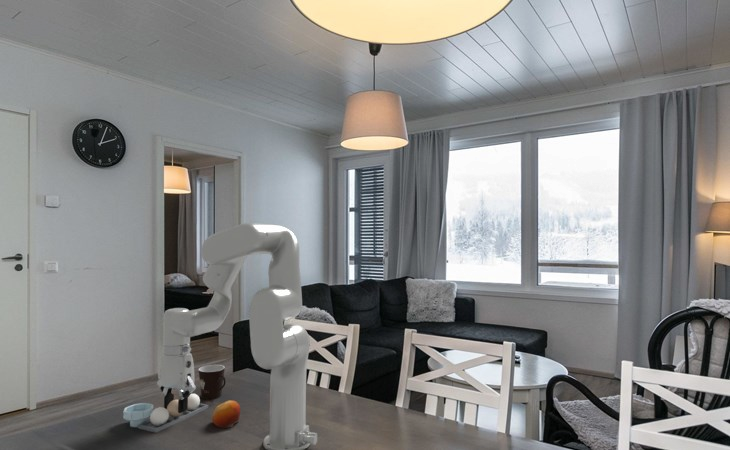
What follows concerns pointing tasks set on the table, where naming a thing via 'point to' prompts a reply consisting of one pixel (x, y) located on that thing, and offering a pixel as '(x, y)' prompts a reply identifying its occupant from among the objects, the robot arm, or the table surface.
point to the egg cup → (137, 413)
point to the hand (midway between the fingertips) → (175, 409)
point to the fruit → (226, 414)
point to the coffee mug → (211, 381)
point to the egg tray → (171, 419)
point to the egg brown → (173, 408)
